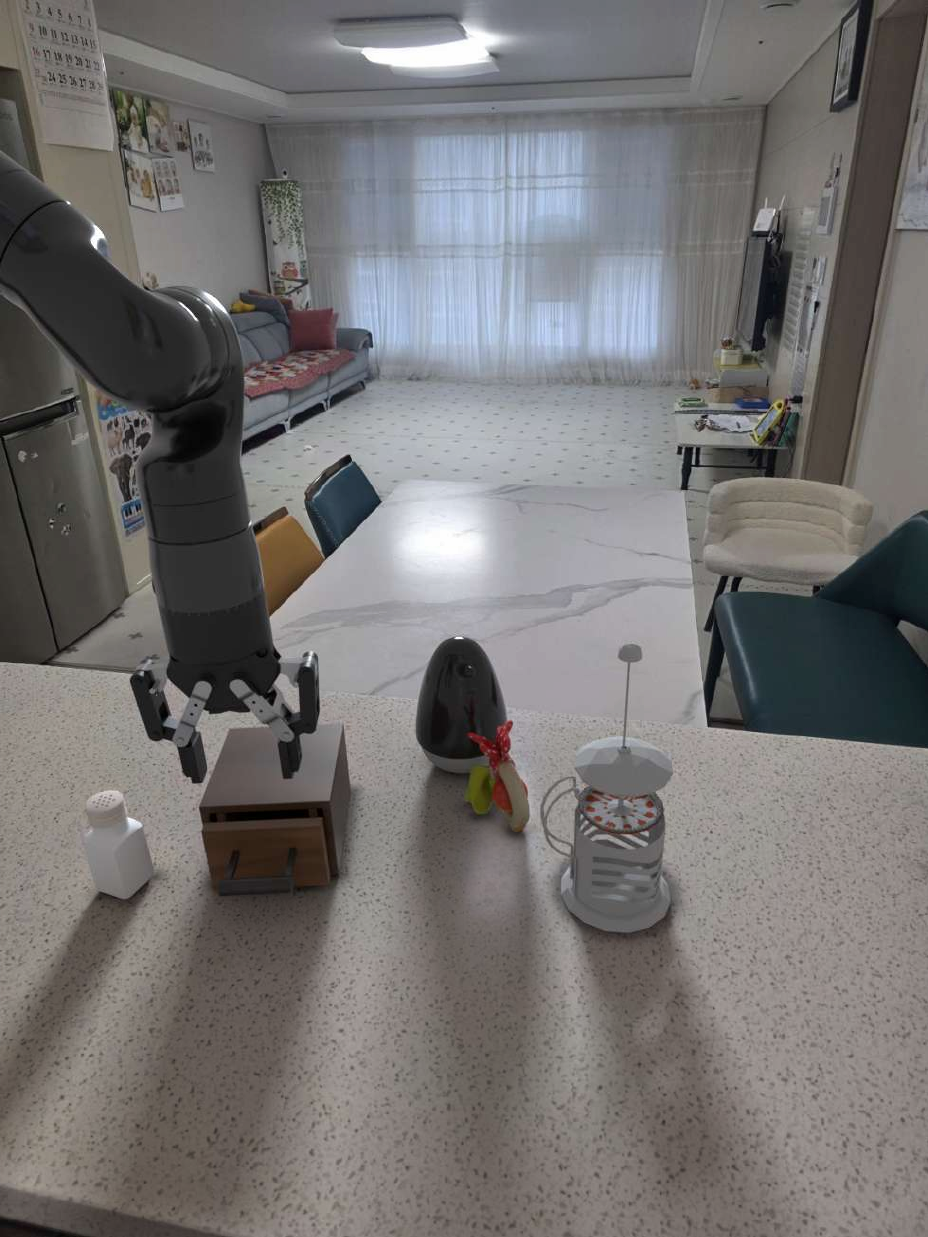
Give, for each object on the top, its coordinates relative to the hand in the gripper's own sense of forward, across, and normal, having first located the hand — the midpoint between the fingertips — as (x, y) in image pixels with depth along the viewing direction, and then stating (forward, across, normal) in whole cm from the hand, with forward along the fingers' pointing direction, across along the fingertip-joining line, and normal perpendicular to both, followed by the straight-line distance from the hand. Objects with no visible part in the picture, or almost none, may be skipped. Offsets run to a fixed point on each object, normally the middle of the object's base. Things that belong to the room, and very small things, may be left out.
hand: (244, 774), depth 66 cm
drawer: (+14, 0, -5) cm, 15 cm away
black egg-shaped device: (+15, -18, -21) cm, 32 cm away
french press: (+15, -30, 0) cm, 34 cm away
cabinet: (+15, 0, -10) cm, 18 cm away
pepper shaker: (+15, +14, -4) cm, 21 cm away
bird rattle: (+15, -22, -11) cm, 29 cm away
